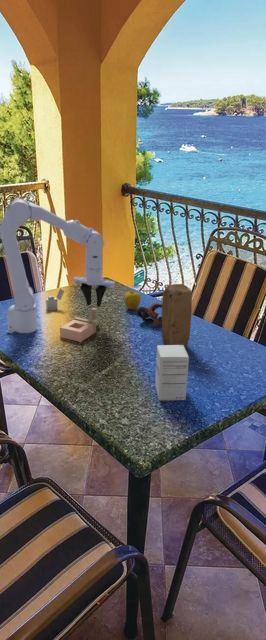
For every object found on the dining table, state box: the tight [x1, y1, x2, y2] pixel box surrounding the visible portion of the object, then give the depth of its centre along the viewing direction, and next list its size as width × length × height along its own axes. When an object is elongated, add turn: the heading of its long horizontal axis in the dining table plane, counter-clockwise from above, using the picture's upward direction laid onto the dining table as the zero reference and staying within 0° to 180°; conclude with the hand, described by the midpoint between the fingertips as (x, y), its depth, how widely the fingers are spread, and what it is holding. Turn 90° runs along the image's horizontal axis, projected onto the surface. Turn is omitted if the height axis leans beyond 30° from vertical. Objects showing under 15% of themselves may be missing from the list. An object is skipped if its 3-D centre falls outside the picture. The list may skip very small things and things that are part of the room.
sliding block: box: [59, 319, 95, 343], centre depth 152 cm, size 8×8×4 cm
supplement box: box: [154, 344, 190, 401], centre depth 119 cm, size 7×7×13 cm
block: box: [161, 283, 193, 348], centre depth 148 cm, size 11×8×20 cm
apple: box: [123, 289, 141, 311], centre depth 180 cm, size 6×6×8 cm
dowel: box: [90, 307, 99, 327], centre depth 161 cm, size 2×2×7 cm
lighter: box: [45, 288, 65, 311], centre depth 178 cm, size 7×2×8 cm, turn 113°
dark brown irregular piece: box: [135, 303, 162, 328], centre depth 168 cm, size 12×10×8 cm
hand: (94, 305), depth 160 cm, fingers open, 3 cm apart
